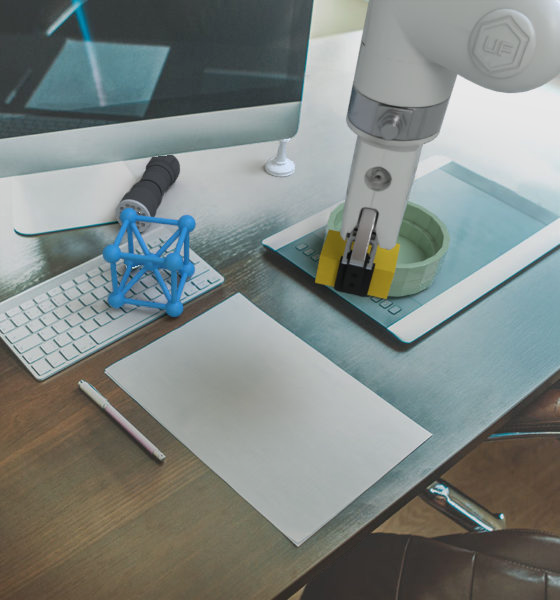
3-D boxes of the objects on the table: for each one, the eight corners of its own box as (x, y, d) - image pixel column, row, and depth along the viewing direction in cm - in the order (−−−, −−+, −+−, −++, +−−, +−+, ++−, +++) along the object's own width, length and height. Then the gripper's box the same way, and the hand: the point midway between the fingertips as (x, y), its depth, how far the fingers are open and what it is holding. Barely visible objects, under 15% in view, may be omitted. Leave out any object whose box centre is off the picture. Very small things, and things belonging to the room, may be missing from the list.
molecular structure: (181, 322, 82) (181, 262, 76) (105, 310, 84) (99, 251, 77) (196, 271, 89) (197, 212, 83) (126, 261, 91) (121, 203, 84)
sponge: (392, 270, 66) (400, 243, 64) (386, 299, 63) (394, 272, 61) (323, 255, 68) (329, 229, 66) (314, 282, 65) (319, 255, 63)
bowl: (443, 240, 93) (454, 209, 89) (431, 312, 83) (443, 280, 79) (334, 217, 98) (340, 186, 94) (310, 282, 87) (316, 250, 84)
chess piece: (279, 157, 110) (285, 102, 103) (301, 169, 107) (309, 113, 100) (258, 167, 108) (263, 112, 101) (280, 180, 105) (287, 124, 98)
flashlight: (151, 174, 107) (150, 145, 104) (182, 180, 106) (182, 150, 102) (116, 228, 97) (113, 198, 93) (150, 235, 95) (149, 205, 92)
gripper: (436, 169, 46) (381, 343, 59) (452, 71, 57) (403, 234, 70) (330, 151, 48) (299, 322, 61) (365, 59, 59) (333, 220, 72)
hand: (355, 273), depth 65 cm, fingers closed on sponge, 4 cm apart
